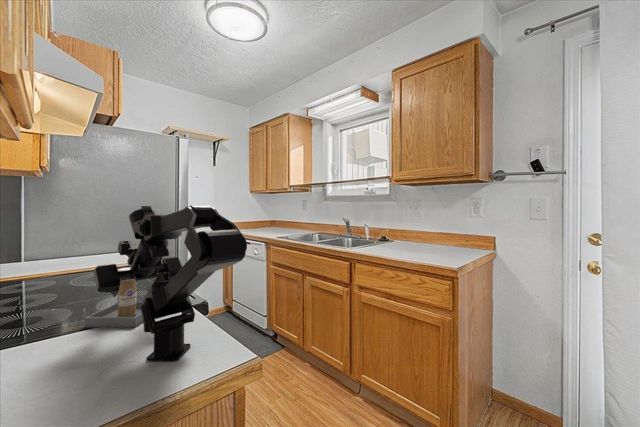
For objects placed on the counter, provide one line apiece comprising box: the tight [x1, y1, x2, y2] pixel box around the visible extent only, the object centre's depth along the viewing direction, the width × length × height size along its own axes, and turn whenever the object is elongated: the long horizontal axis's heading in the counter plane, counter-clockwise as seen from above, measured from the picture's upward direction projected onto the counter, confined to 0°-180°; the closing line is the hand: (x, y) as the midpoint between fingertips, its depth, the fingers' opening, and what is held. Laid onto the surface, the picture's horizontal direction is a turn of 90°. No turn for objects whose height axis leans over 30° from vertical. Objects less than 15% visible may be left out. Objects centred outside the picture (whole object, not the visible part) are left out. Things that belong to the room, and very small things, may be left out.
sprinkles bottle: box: [116, 266, 137, 317], centre depth 80 cm, size 5×5×14 cm
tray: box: [84, 301, 143, 329], centre depth 80 cm, size 13×13×2 cm
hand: (134, 291), depth 76 cm, fingers open, 9 cm apart
